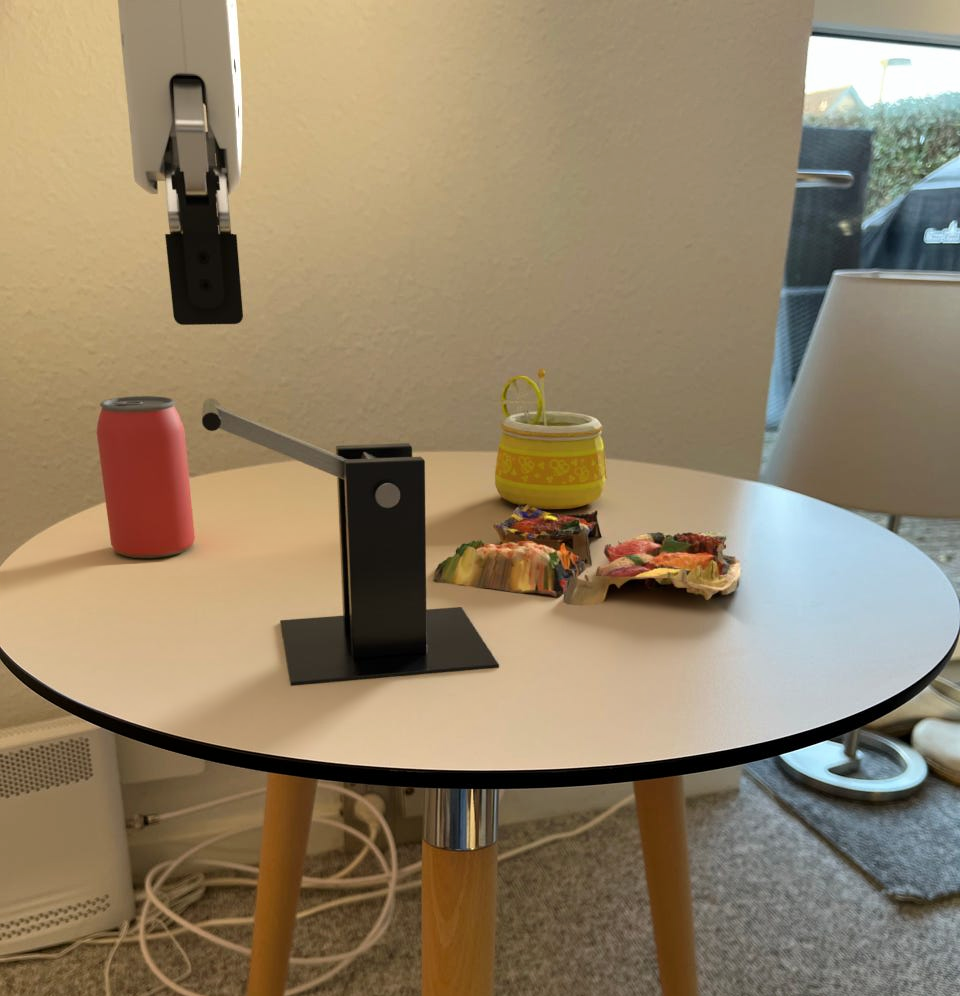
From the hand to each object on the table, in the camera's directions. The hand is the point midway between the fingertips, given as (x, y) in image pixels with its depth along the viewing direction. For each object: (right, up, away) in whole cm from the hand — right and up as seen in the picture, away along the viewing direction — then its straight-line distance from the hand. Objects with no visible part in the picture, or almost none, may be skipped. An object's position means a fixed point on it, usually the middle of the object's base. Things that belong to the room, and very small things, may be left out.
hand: (209, 316), depth 53 cm
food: (+23, -12, +25) cm, 36 cm away
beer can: (-13, -10, +31) cm, 35 cm away
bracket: (+8, -18, +10) cm, 22 cm away
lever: (+4, -7, +4) cm, 9 cm away
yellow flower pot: (+21, -3, +48) cm, 52 cm away
